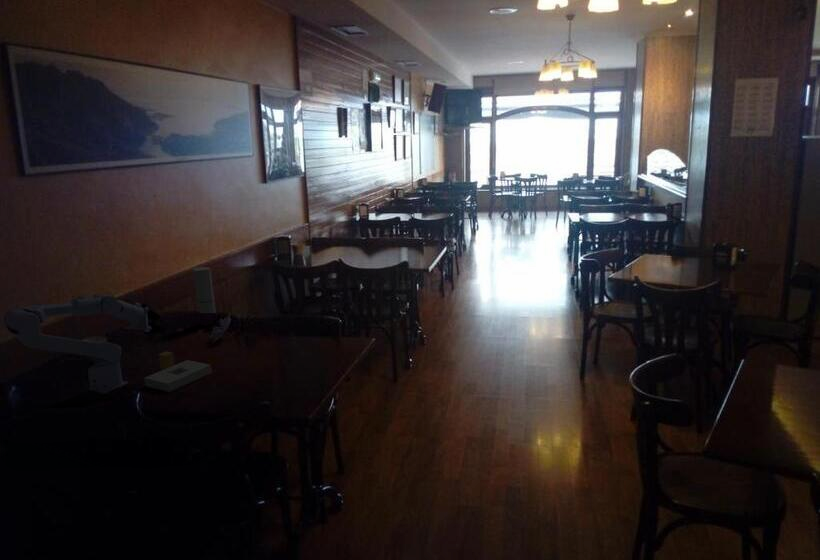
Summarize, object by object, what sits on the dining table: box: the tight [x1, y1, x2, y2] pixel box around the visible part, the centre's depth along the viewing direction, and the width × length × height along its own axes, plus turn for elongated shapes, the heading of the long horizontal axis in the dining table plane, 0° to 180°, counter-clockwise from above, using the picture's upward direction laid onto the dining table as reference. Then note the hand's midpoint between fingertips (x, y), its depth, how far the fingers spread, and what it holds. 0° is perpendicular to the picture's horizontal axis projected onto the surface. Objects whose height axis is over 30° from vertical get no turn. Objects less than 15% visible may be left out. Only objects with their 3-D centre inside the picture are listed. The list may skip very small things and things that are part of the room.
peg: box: [158, 350, 176, 371], centre depth 222 cm, size 4×4×6 cm
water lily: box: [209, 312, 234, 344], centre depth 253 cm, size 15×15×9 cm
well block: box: [143, 359, 213, 393], centre depth 212 cm, size 18×12×3 cm, turn 150°
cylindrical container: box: [192, 266, 217, 314], centre depth 273 cm, size 7×7×25 cm
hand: (161, 324), depth 222 cm, fingers open, 7 cm apart
